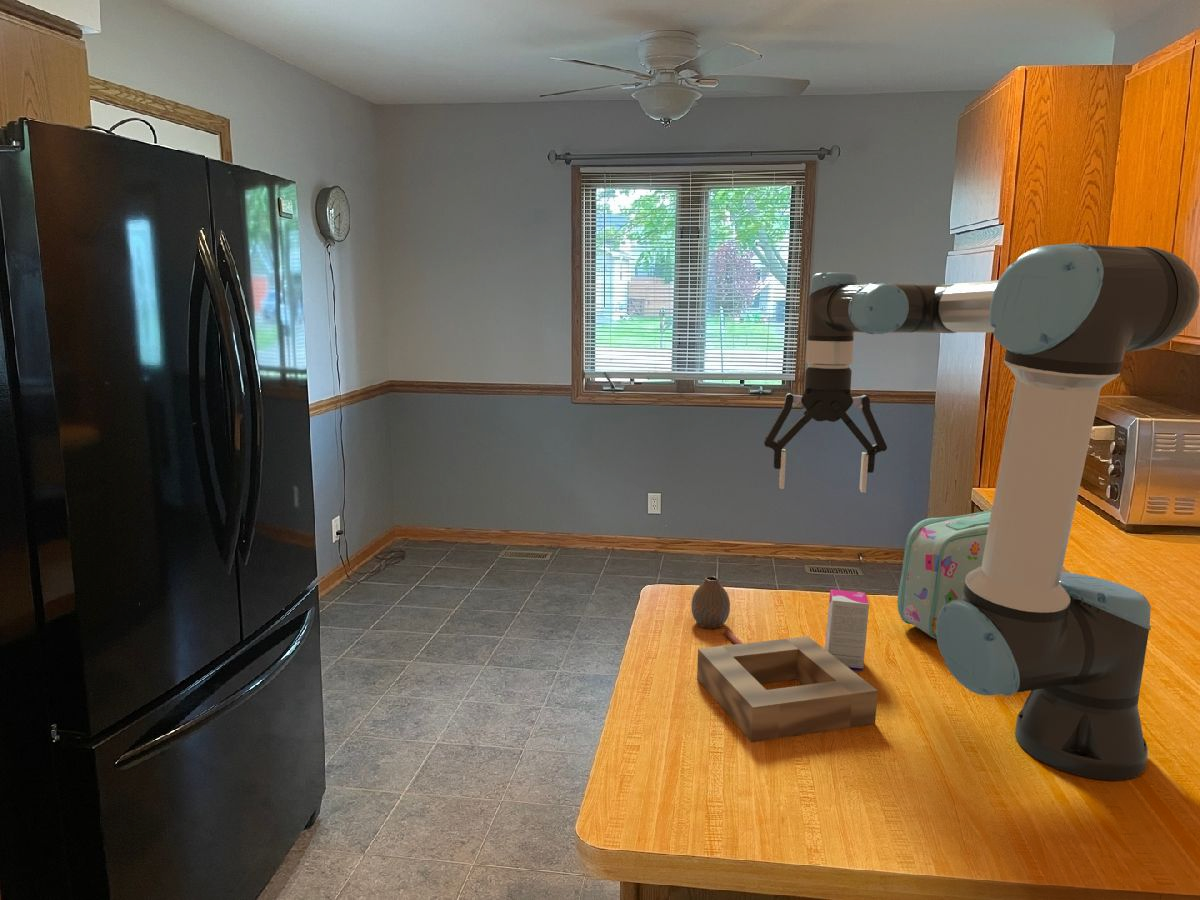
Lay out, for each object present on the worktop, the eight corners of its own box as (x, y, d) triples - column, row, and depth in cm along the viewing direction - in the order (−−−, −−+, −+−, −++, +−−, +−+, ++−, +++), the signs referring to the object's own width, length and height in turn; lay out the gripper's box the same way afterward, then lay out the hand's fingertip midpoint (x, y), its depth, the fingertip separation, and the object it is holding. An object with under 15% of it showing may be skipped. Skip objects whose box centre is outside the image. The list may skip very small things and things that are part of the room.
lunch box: (992, 605, 161) (1004, 498, 157) (1040, 624, 152) (1053, 511, 148) (888, 627, 149) (898, 512, 145) (933, 649, 140) (945, 527, 136)
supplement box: (864, 672, 132) (869, 603, 129) (826, 668, 133) (830, 600, 131) (860, 656, 137) (865, 591, 135) (823, 653, 138) (828, 588, 136)
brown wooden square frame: (875, 723, 116) (877, 690, 115) (751, 741, 111) (752, 707, 110) (806, 665, 134) (808, 636, 133) (696, 678, 129) (698, 648, 128)
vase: (686, 628, 148) (687, 581, 146) (696, 614, 154) (698, 569, 153) (724, 634, 145) (726, 587, 144) (733, 620, 152) (735, 575, 150)
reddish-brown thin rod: (759, 663, 134) (760, 657, 134) (754, 664, 134) (754, 658, 134) (727, 633, 146) (728, 627, 146) (722, 633, 146) (722, 628, 146)
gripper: (902, 366, 141) (893, 487, 145) (753, 363, 145) (748, 481, 149) (910, 369, 134) (901, 497, 137) (753, 366, 138) (748, 490, 142)
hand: (821, 489), depth 143 cm, fingers open, 13 cm apart
